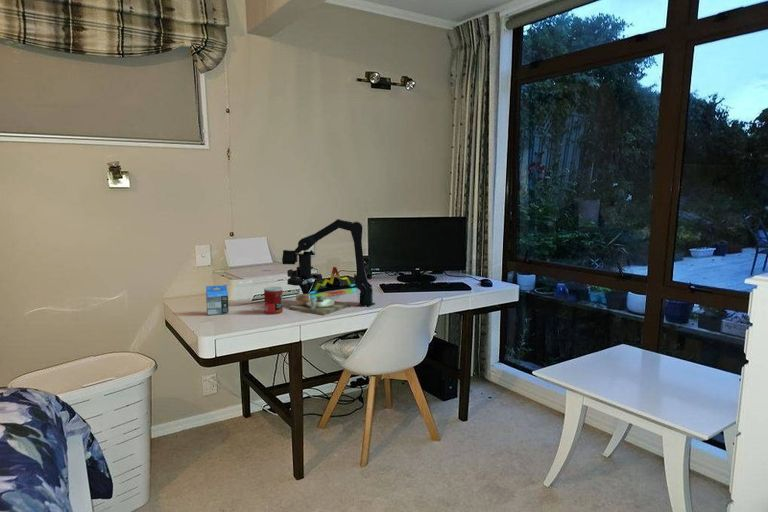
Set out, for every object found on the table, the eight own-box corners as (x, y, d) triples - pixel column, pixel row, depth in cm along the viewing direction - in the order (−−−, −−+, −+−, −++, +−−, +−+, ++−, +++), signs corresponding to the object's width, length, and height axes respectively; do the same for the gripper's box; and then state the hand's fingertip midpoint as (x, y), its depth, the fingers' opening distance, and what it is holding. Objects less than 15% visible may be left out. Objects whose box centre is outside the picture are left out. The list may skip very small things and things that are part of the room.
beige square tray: (317, 300, 238) (317, 288, 237) (350, 305, 227) (350, 293, 226) (289, 309, 221) (289, 296, 220) (323, 315, 210) (323, 301, 210)
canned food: (278, 315, 210) (278, 290, 209) (261, 313, 212) (260, 289, 211) (285, 310, 218) (285, 286, 216) (269, 309, 219) (268, 286, 218)
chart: (308, 301, 238) (307, 271, 236) (304, 300, 240) (304, 270, 238) (356, 292, 258) (356, 265, 256) (352, 291, 260) (352, 264, 258)
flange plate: (336, 301, 230) (335, 292, 229) (332, 307, 217) (332, 298, 217) (299, 300, 230) (299, 291, 230) (293, 307, 218) (293, 297, 217)
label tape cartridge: (207, 315, 209) (206, 287, 207) (206, 313, 212) (205, 286, 210) (228, 313, 212) (227, 286, 210) (227, 311, 216) (226, 284, 214)
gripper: (305, 260, 238) (305, 291, 240) (278, 265, 222) (278, 298, 224) (322, 262, 232) (323, 294, 234) (296, 267, 216) (297, 301, 218)
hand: (305, 297), depth 228 cm, fingers closed
